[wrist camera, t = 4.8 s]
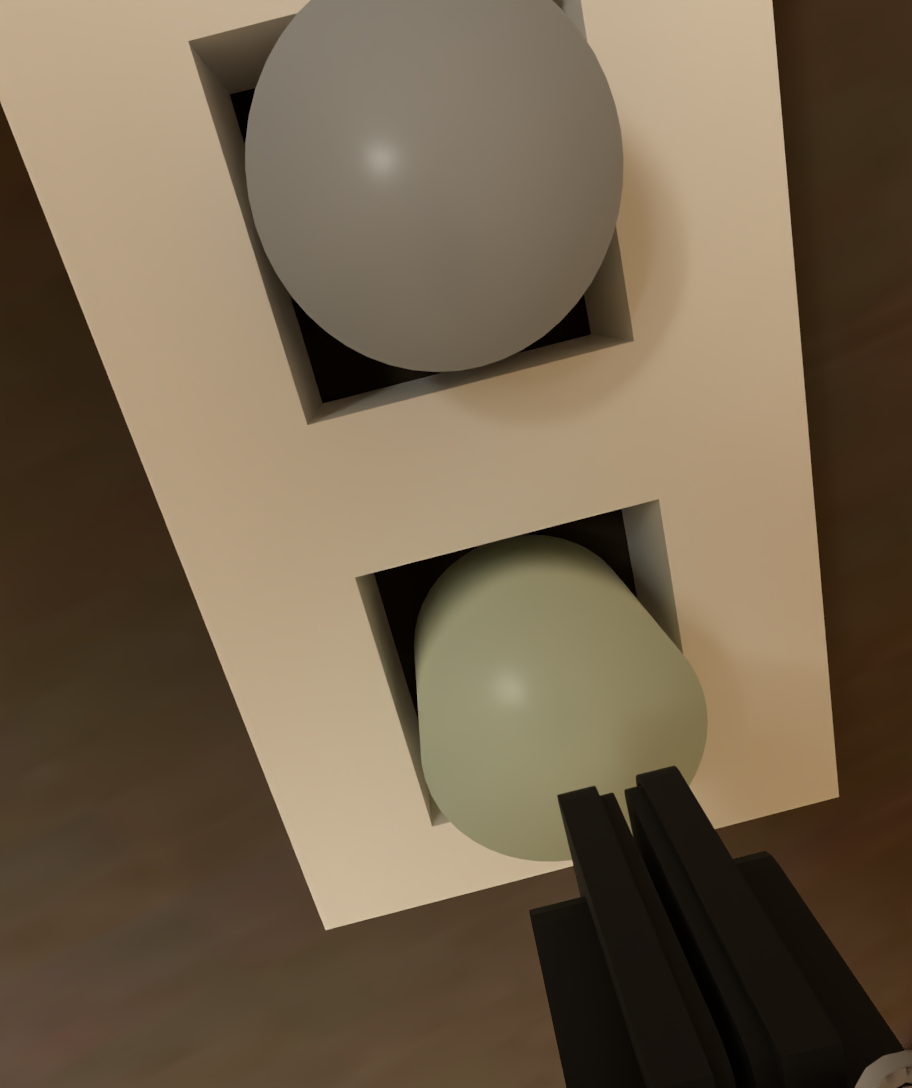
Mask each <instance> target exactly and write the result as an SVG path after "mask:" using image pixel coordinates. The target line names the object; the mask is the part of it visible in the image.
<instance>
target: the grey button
mask: <svg viewBox="0 0 912 1088" xmlns="http://www.w3.org/2000/svg"><path fill="white" fill-rule="evenodd" d="M623 160H624V158H623V147H622V136H621V129H620V124H619V119H618V115H617V110H616V105H615V102H614V99H613V96H612V93H611V90H610V87H609V84H608V81H607V78H606V76H605V74H604V72H603V70H602V68H601V66H600V64H599V62H598V60H597V58H596V55H595V53H594V52H593V50H592V49H591V47H590V46H589V44H588V43H587V41H586V39H585V38H584V36H583V35H582V33H581V32H580V30H579V29H578V28H577V27H576V25H575V24H574V23H573V22H572V21H571V20H570V18H569V17H568V16H567V15H566V14H565V12H564V11H563V10H562V9H561V8H560V7H559V6H558V5H557V4H555V3H554V2H553V1H552V0H310V1H309V2H308V3H307V4H306V5H305V6H304V7H303V8H302V9H301V10H300V11H299V12H298V13H297V14H296V16H295V17H294V18H293V20H292V21H291V22H290V23H289V25H288V26H287V27H286V29H285V30H284V31H283V33H282V34H281V35H280V37H279V39H278V41H277V42H276V44H275V46H274V48H273V50H272V51H271V53H270V55H269V57H268V59H267V60H266V63H265V65H264V68H263V70H262V73H261V75H260V78H259V80H258V83H257V85H256V88H255V92H254V96H253V100H252V104H251V108H250V112H249V117H248V126H247V134H246V142H245V173H246V181H247V189H248V198H249V202H250V206H251V211H252V215H253V219H254V223H255V227H256V229H257V232H258V235H259V237H260V240H261V243H262V245H263V248H264V251H265V253H266V255H267V257H268V259H269V261H270V262H271V264H272V266H273V268H274V270H275V272H276V274H277V276H278V277H279V279H280V280H281V282H282V283H283V285H284V286H285V288H286V289H287V291H288V292H289V294H290V295H291V296H292V298H293V299H294V300H295V301H296V302H297V303H298V304H299V306H300V307H301V308H302V309H303V310H304V311H305V313H306V314H307V315H308V316H309V317H310V318H311V319H313V320H314V321H315V322H316V323H317V324H318V325H319V326H320V327H321V328H323V329H324V330H325V331H326V332H327V333H329V334H330V335H331V336H333V337H334V338H336V339H337V340H339V341H340V342H342V343H343V344H344V345H346V346H347V347H349V348H351V349H353V350H355V351H357V352H359V353H361V354H363V355H365V356H367V357H369V358H372V359H375V360H377V361H380V362H383V363H386V364H388V365H392V366H396V367H401V368H405V369H410V370H417V371H429V372H446V371H460V370H466V369H471V368H476V367H481V366H484V365H487V364H490V363H493V362H496V361H499V360H503V359H505V358H507V357H509V356H511V355H513V354H515V353H517V352H519V351H521V350H523V349H525V348H526V347H528V346H529V345H531V344H532V343H534V342H535V341H537V340H538V339H540V338H541V337H543V336H544V335H545V334H546V333H548V332H549V331H550V330H551V329H552V328H553V327H555V326H556V325H557V324H558V323H559V322H560V321H561V320H562V319H563V318H564V317H565V316H566V315H567V314H568V313H569V312H570V310H571V309H572V308H573V307H574V306H575V305H576V304H577V303H578V301H579V300H580V298H581V297H582V296H583V294H584V293H585V291H586V290H587V288H588V287H589V286H590V284H591V283H592V281H593V279H594V277H595V275H596V273H597V271H598V270H599V268H600V266H601V264H602V262H603V260H604V257H605V255H606V252H607V250H608V247H609V245H610V242H611V240H612V237H613V233H614V229H615V226H616V222H617V218H618V214H619V209H620V202H621V195H622V188H623Z"/></svg>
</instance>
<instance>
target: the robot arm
mask: <svg viewBox="0 0 912 1088" xmlns="http://www.w3.org/2000/svg"><path fill="white" fill-rule="evenodd" d="M636 785H637V786H636V787H632V788H628V789H625V790H624V793H625V799H626V804H627V809H628V814H629V819H630V824H631V829H632V833H631V831H630V829H629V827H628V824H627V822H626V820H625V817H624V815H623V813H622V811H621V808H620V806H619V804H618V801H617V799H616V797H615V795H614V793H613V792H612V793H608V794H604V795H599V793H598V791H597V788H596V787H595V786H591V787H587V788H583V789H579V790H575V791H571V792H567V793H563V794H559V795H557V798H558V803H559V807H560V811H561V815H562V820H563V824H564V828H565V832H566V836H567V841H568V845H569V849H570V853H571V857H572V862H573V866H574V870H575V874H576V878H577V883H578V887H579V891H580V895H581V897H580V898H576V899H572V900H568V901H564V902H560V903H556V904H552V905H548V906H544V907H540V908H536V909H532V910H530V917H531V922H532V927H533V931H534V936H535V941H536V945H537V950H538V955H539V960H540V964H541V969H542V974H543V979H544V983H545V988H546V993H547V997H548V1002H549V1007H550V1012H551V1016H552V1021H553V1026H554V1031H555V1035H556V1040H557V1045H558V1049H559V1054H560V1059H561V1064H562V1068H563V1073H564V1078H565V1083H566V1087H567V1088H912V1051H909V1050H904V1048H903V1047H902V1045H901V1044H900V1042H899V1041H898V1039H897V1038H896V1037H895V1035H894V1034H893V1032H892V1031H891V1029H890V1028H889V1026H888V1025H887V1023H886V1022H885V1020H884V1019H883V1017H882V1016H881V1014H880V1013H879V1011H878V1010H877V1009H876V1007H875V1006H874V1004H873V1003H872V1001H871V1000H870V998H869V997H868V995H867V994H866V992H865V991H864V989H863V988H862V986H861V985H860V984H859V982H858V981H857V979H856V978H855V976H854V975H853V973H852V972H851V970H850V969H849V967H848V966H847V964H846V963H845V961H844V960H843V958H842V957H841V956H840V954H839V953H838V951H837V950H836V948H835V947H834V945H833V944H832V942H831V941H830V939H829V938H828V936H827V935H826V933H825V932H824V930H823V929H822V928H821V926H820V925H819V923H818V922H817V920H816V919H815V917H814V916H813V914H812V913H811V911H810V910H809V908H808V907H807V905H806V904H805V902H804V901H803V900H802V898H801V897H800V895H799V894H798V892H797V891H796V889H795V888H794V886H793V885H792V883H791V882H790V880H789V879H788V877H787V876H786V874H785V873H784V872H783V870H782V869H781V867H780V866H779V864H778V863H777V862H776V860H775V859H774V858H773V857H772V855H770V854H769V853H768V852H766V851H764V852H760V853H756V854H752V855H748V856H744V857H740V858H736V859H732V857H731V856H730V854H729V852H728V851H727V849H726V847H725V846H724V844H723V842H722V841H721V839H720V837H719V836H718V834H717V832H716V831H715V829H714V827H713V826H712V824H711V822H710V821H709V819H708V817H707V816H706V814H705V812H704V811H703V809H702V807H701V806H700V804H699V802H698V801H697V799H696V797H695V796H694V794H693V792H692V791H691V789H690V787H689V786H688V784H687V782H686V781H685V779H684V777H683V776H682V774H681V772H680V771H679V769H678V768H677V767H676V766H670V767H666V768H662V769H658V770H654V771H650V772H646V773H642V774H638V775H636ZM632 834H633V836H632Z"/></svg>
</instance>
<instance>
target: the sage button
mask: <svg viewBox="0 0 912 1088" xmlns="http://www.w3.org/2000/svg"><path fill="white" fill-rule="evenodd" d="M414 655H415V671H416V687H417V702H418V718H419V733H420V749H421V764H422V768H423V772H424V777H425V781H426V783H427V786H428V788H429V791H430V793H431V795H432V797H433V799H434V801H435V802H436V804H437V806H438V807H439V809H440V810H441V811H442V813H443V814H444V815H445V816H446V818H447V819H448V820H449V821H450V822H451V823H452V824H453V825H454V826H455V827H456V828H457V829H458V830H459V831H460V832H462V833H463V834H464V835H466V836H467V837H469V838H470V839H471V840H473V841H474V842H476V843H478V844H480V845H482V846H484V847H486V848H488V849H490V850H492V851H495V852H498V853H500V854H503V855H506V856H510V857H514V858H518V859H524V860H532V861H547V862H558V861H568V860H572V857H571V853H570V849H569V845H568V841H567V836H566V832H565V828H564V824H563V820H562V815H561V811H560V807H559V803H558V798H557V795H559V794H563V793H567V792H571V791H575V790H579V789H583V788H587V787H591V786H595V787H596V788H597V791H598V793H599V795H604V794H608V793H612V792H613V793H614V795H615V797H616V799H617V801H618V804H619V806H620V808H621V811H622V813H623V815H624V817H625V820H626V822H627V824H628V827H629V829H630V831H631V833H632V829H631V824H630V819H629V814H628V809H627V804H626V799H625V793H624V790H625V789H628V788H632V787H636V786H637V785H636V775H638V774H642V773H646V772H650V771H654V770H658V769H662V768H666V767H670V766H676V767H677V768H678V769H679V771H680V772H681V774H682V776H683V777H684V779H685V781H686V782H687V784H688V786H690V784H691V782H692V780H693V778H694V776H695V774H696V772H697V770H698V767H699V765H700V762H701V759H702V757H703V753H704V748H705V744H706V739H707V727H708V718H707V706H706V701H705V697H704V693H703V689H702V687H701V684H700V682H699V679H698V677H697V675H696V673H695V671H694V670H693V668H692V666H691V664H690V663H689V661H688V660H687V659H686V657H685V656H684V655H683V654H682V653H681V651H680V650H679V649H678V648H677V647H676V645H675V644H674V643H673V642H672V641H671V639H670V638H669V637H668V636H667V634H666V633H665V632H664V631H663V630H662V628H661V627H660V626H659V625H658V624H657V622H656V621H655V620H654V619H653V618H652V616H651V615H650V614H649V613H648V612H647V610H646V609H645V608H644V607H643V606H642V604H641V603H640V602H639V601H638V600H637V598H636V597H635V596H634V595H633V594H632V592H631V591H630V590H629V589H628V587H627V586H626V585H625V584H624V583H623V581H622V580H621V579H620V578H619V577H618V575H617V574H616V573H615V572H614V571H613V569H612V568H611V567H610V566H609V565H608V564H607V563H606V562H605V561H604V560H602V559H601V558H600V557H599V556H597V555H596V554H594V553H593V552H592V551H590V550H589V549H587V548H585V547H583V546H581V545H579V544H577V543H574V542H571V541H568V540H565V539H562V538H557V537H552V536H547V535H518V536H514V537H510V538H506V539H502V540H498V541H495V542H491V543H487V544H484V545H482V546H480V547H478V548H476V549H474V550H472V551H470V552H469V553H467V554H465V555H464V556H462V557H461V558H459V559H458V560H457V561H456V562H454V563H453V564H452V565H451V566H450V567H448V568H447V569H446V570H445V572H444V573H443V574H442V575H441V576H440V577H439V578H438V579H437V581H436V582H435V583H434V585H433V586H432V587H431V589H430V590H429V592H428V594H427V596H426V598H425V600H424V601H423V603H422V606H421V609H420V611H419V614H418V617H417V622H416V626H415V633H414ZM632 836H633V834H632Z"/></svg>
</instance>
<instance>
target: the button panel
mask: <svg viewBox="0 0 912 1088" xmlns="http://www.w3.org/2000/svg"><path fill="white" fill-rule="evenodd" d="M309 1H310V0H0V102H1V105H2V107H3V110H4V112H5V115H6V117H7V120H8V123H9V125H10V128H11V130H12V133H13V135H14V138H15V140H16V143H17V146H18V148H19V151H20V153H21V156H22V158H23V161H24V163H25V166H26V168H27V171H28V174H29V176H30V179H31V181H32V184H33V186H34V189H35V191H36V194H37V196H38V199H39V202H40V204H41V207H42V209H43V212H44V214H45V217H46V219H47V222H48V224H49V227H50V230H51V232H52V235H53V237H54V240H55V242H56V245H57V247H58V250H59V252H60V255H61V258H62V260H63V263H64V265H65V268H66V270H67V273H68V275H69V278H70V281H71V283H72V286H73V288H74V291H75V293H76V296H77V298H78V301H79V303H80V306H81V309H82V311H83V314H84V316H85V319H86V321H87V324H88V326H89V329H90V331H91V334H92V337H93V339H94V342H95V344H96V347H97V349H98V352H99V354H100V357H101V359H102V362H103V365H104V367H105V370H106V372H107V375H108V377H109V380H110V382H111V385H112V388H113V390H114V393H115V395H116V398H117V400H118V403H119V405H120V408H121V410H122V413H123V416H124V418H125V421H126V423H127V426H128V428H129V431H130V433H131V436H132V438H133V441H134V444H135V446H136V449H137V451H138V454H139V456H140V459H141V461H142V464H143V466H144V469H145V472H146V474H147V477H148V479H149V482H150V484H151V487H152V489H153V492H154V495H155V497H156V500H157V502H158V505H159V507H160V510H161V512H162V515H163V517H164V520H165V523H166V525H167V528H168V530H169V533H170V535H171V538H172V540H173V543H174V545H175V548H176V551H177V553H178V556H179V558H180V561H181V563H182V566H183V568H184V571H185V573H186V576H187V579H188V581H189V584H190V586H191V589H192V591H193V594H194V596H195V599H196V601H197V604H198V607H199V609H200V612H201V614H202V617H203V619H204V622H205V624H206V627H207V630H208V632H209V635H210V637H211V640H212V642H213V645H214V647H215V650H216V652H217V655H218V658H219V660H220V663H221V665H222V668H223V670H224V673H225V675H226V678H227V680H228V683H229V686H230V688H231V691H232V693H233V696H234V698H235V701H236V703H237V706H238V708H239V711H240V714H241V716H242V719H243V721H244V724H245V726H246V729H247V731H248V734H249V737H250V739H251V742H252V744H253V747H254V749H255V752H256V754H257V757H258V759H259V762H260V765H261V767H262V770H263V772H264V775H265V777H266V780H267V782H268V785H269V787H270V790H271V793H272V795H273V798H274V800H275V803H276V805H277V808H278V810H279V813H280V815H281V818H282V821H283V823H284V826H285V828H286V831H287V833H288V836H289V838H290V841H291V843H292V846H293V849H294V851H295V854H296V856H297V859H298V861H299V864H300V866H301V869H302V872H303V874H304V877H305V879H306V882H307V884H308V887H309V889H310V892H311V894H312V897H313V900H314V902H315V905H316V907H317V910H318V912H319V915H320V917H321V920H322V922H323V925H324V928H325V930H328V929H332V928H336V927H340V926H344V925H348V924H351V923H355V922H359V921H363V920H367V919H371V918H375V917H378V916H382V915H386V914H390V913H394V912H398V911H402V910H405V909H409V908H413V907H417V906H421V905H425V904H429V903H432V902H436V901H440V900H444V899H448V898H452V897H455V896H459V895H463V894H467V893H471V892H475V891H479V890H482V889H486V888H490V887H494V886H498V885H502V884H506V883H509V882H513V881H517V880H521V879H525V878H529V877H533V876H536V875H540V874H544V873H548V872H552V871H556V870H559V869H563V868H567V867H571V866H573V862H572V860H568V861H558V862H547V861H532V860H524V859H518V858H514V857H510V856H506V855H503V854H500V853H498V852H495V851H492V850H490V849H488V848H486V847H484V846H482V845H480V844H478V843H476V842H474V841H473V840H471V839H470V838H469V837H467V836H466V835H464V834H463V833H462V832H460V831H459V830H458V829H457V828H456V827H455V826H454V825H453V824H452V823H451V822H450V821H449V820H448V819H447V818H446V816H445V815H444V814H443V813H442V811H441V810H440V809H439V807H438V806H437V804H436V802H435V801H434V799H433V797H432V795H431V793H430V791H429V788H428V786H427V783H426V781H425V777H424V772H423V768H422V764H421V749H420V733H419V722H418V719H417V715H416V712H415V709H414V705H413V702H412V699H411V695H410V692H409V689H408V685H407V682H406V679H405V675H404V672H403V669H402V665H401V662H400V659H399V655H398V652H397V649H396V646H395V642H394V639H393V636H392V632H391V629H390V626H389V622H388V619H387V616H386V612H385V609H384V606H383V602H382V599H381V596H380V592H379V589H378V586H377V582H376V579H375V576H374V573H375V572H378V571H382V570H386V569H390V568H394V567H398V566H402V565H405V564H409V563H413V562H417V561H421V560H425V559H429V558H433V557H436V556H440V555H444V554H448V553H452V552H456V551H460V550H464V549H467V548H471V547H475V546H479V545H483V544H487V543H491V542H495V541H498V540H502V539H506V538H510V537H514V536H518V535H522V534H525V533H529V532H533V531H537V530H541V529H545V528H549V527H553V526H556V525H560V524H564V523H568V522H572V521H576V520H580V519H584V518H587V517H591V516H595V515H599V514H603V513H607V512H611V511H615V510H618V509H622V515H623V521H624V527H625V532H626V538H627V544H628V549H629V555H630V561H631V567H632V572H633V578H634V584H635V589H636V595H637V600H638V601H639V602H640V603H641V604H642V606H643V607H644V608H645V609H646V610H647V612H648V613H649V614H650V615H651V616H652V618H653V619H654V620H655V621H656V622H657V624H658V625H659V626H660V627H661V628H662V630H663V631H664V632H665V633H666V634H667V636H668V637H669V638H670V639H671V641H672V642H673V643H674V644H675V645H676V647H677V648H678V649H679V650H680V651H681V653H682V654H683V655H684V656H685V657H686V659H687V660H688V661H689V663H690V664H691V666H692V668H693V670H694V671H695V673H696V675H697V677H698V679H699V682H700V684H701V687H702V689H703V693H704V697H705V701H706V706H707V718H708V727H707V739H706V744H705V748H704V753H703V757H702V759H701V762H700V765H699V767H698V770H697V772H696V774H695V776H694V778H693V780H692V782H691V784H690V786H689V787H690V789H691V791H692V792H693V794H694V796H695V797H696V799H697V801H698V802H699V804H700V806H701V807H702V809H703V811H704V812H705V814H706V816H707V817H708V819H709V821H710V822H711V824H712V826H713V827H714V829H717V828H721V827H725V826H729V825H733V824H737V823H741V822H744V821H748V820H752V819H756V818H760V817H764V816H768V815H771V814H775V813H779V812H783V811H787V810H791V809H794V808H798V807H802V806H806V805H810V804H814V803H818V802H821V801H825V800H829V799H833V798H837V797H839V790H838V778H837V767H836V755H835V743H834V731H833V719H832V707H831V695H830V683H829V671H828V659H827V647H826V635H825V624H824V612H823V600H822V588H821V576H820V564H819V552H818V540H817V528H816V516H815V504H814V492H813V481H812V469H811V457H810V445H809V433H808V421H807V409H806V397H805V385H804V373H803V361H802V350H801V338H800V326H799V314H798V302H797V290H796V278H795V266H794V254H793V242H792V230H791V218H790V207H789V195H788V183H787V171H786V159H785V147H784V135H783V123H782V111H781V99H780V87H779V76H778V64H777V52H776V40H775V28H774V16H773V4H772V0H552V1H553V2H554V3H555V4H557V5H558V6H559V7H560V8H561V9H562V10H563V11H564V12H565V14H566V15H567V16H568V17H569V18H570V20H571V21H572V22H573V23H574V24H575V25H576V27H577V28H578V29H579V30H580V32H581V33H582V35H583V36H584V38H585V39H586V41H587V43H588V44H589V46H590V47H591V49H592V50H593V52H594V53H595V55H596V58H597V60H598V62H599V64H600V66H601V68H602V70H603V72H604V74H605V76H606V78H607V81H608V84H609V87H610V90H611V93H612V96H613V99H614V102H615V105H616V110H617V115H618V119H619V124H620V129H621V136H622V147H623V158H624V160H623V188H622V195H621V202H620V209H619V214H618V218H617V222H616V226H615V229H614V233H613V237H612V240H611V242H610V245H609V247H608V250H607V252H606V255H605V257H604V260H603V262H602V264H601V266H600V268H599V270H598V271H597V273H596V275H595V277H594V279H593V281H592V283H591V284H590V286H589V287H588V288H587V290H586V291H585V293H584V298H585V304H586V310H587V315H588V321H589V327H590V332H591V334H590V335H586V336H582V337H579V338H575V339H571V340H567V341H563V342H559V343H555V344H551V345H548V346H544V347H540V348H536V349H532V350H528V351H524V352H520V353H517V354H513V355H511V356H509V357H507V358H505V359H503V360H499V361H496V362H493V363H490V364H487V365H484V366H481V367H476V368H471V369H466V370H460V371H447V372H443V373H439V374H435V375H431V376H427V377H423V378H419V379H416V380H412V381H408V382H404V383H400V384H396V385H392V386H388V387H385V388H381V389H377V390H373V391H369V392H365V393H361V394H357V395H353V396H350V397H346V398H342V399H338V400H334V401H330V402H326V403H322V400H321V396H320V393H319V390H318V386H317V383H316V380H315V376H314V373H313V370H312V366H311V363H310V360H309V356H308V353H307V350H306V347H305V343H304V340H303V337H302V333H301V330H300V327H299V323H298V320H297V317H296V313H295V310H294V307H293V303H292V300H291V297H290V294H289V292H288V291H287V289H286V288H285V286H284V285H283V283H282V282H281V280H280V279H279V277H278V276H277V274H276V272H275V270H274V268H273V266H272V264H271V262H270V261H269V259H268V257H267V255H266V253H265V251H264V248H263V245H262V243H261V240H260V237H259V235H258V232H257V229H256V227H255V223H254V219H253V215H252V211H251V206H250V202H249V198H248V189H247V181H246V173H245V144H244V141H243V137H242V134H241V131H240V127H239V124H238V121H237V117H236V114H235V111H234V107H233V104H232V101H231V97H230V94H234V93H238V92H242V91H246V90H250V89H253V88H256V85H257V83H258V80H259V78H260V75H261V73H262V70H263V68H264V65H265V63H266V60H267V59H268V57H269V55H270V53H271V51H272V50H273V48H274V46H275V44H276V42H277V41H278V39H279V37H280V35H281V34H282V33H283V31H284V30H285V29H286V27H287V26H288V25H289V23H290V22H291V21H292V20H293V18H294V17H295V16H296V14H297V13H298V12H299V11H300V10H301V9H302V8H303V7H304V6H305V5H306V4H307V3H308V2H309Z"/></svg>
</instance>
